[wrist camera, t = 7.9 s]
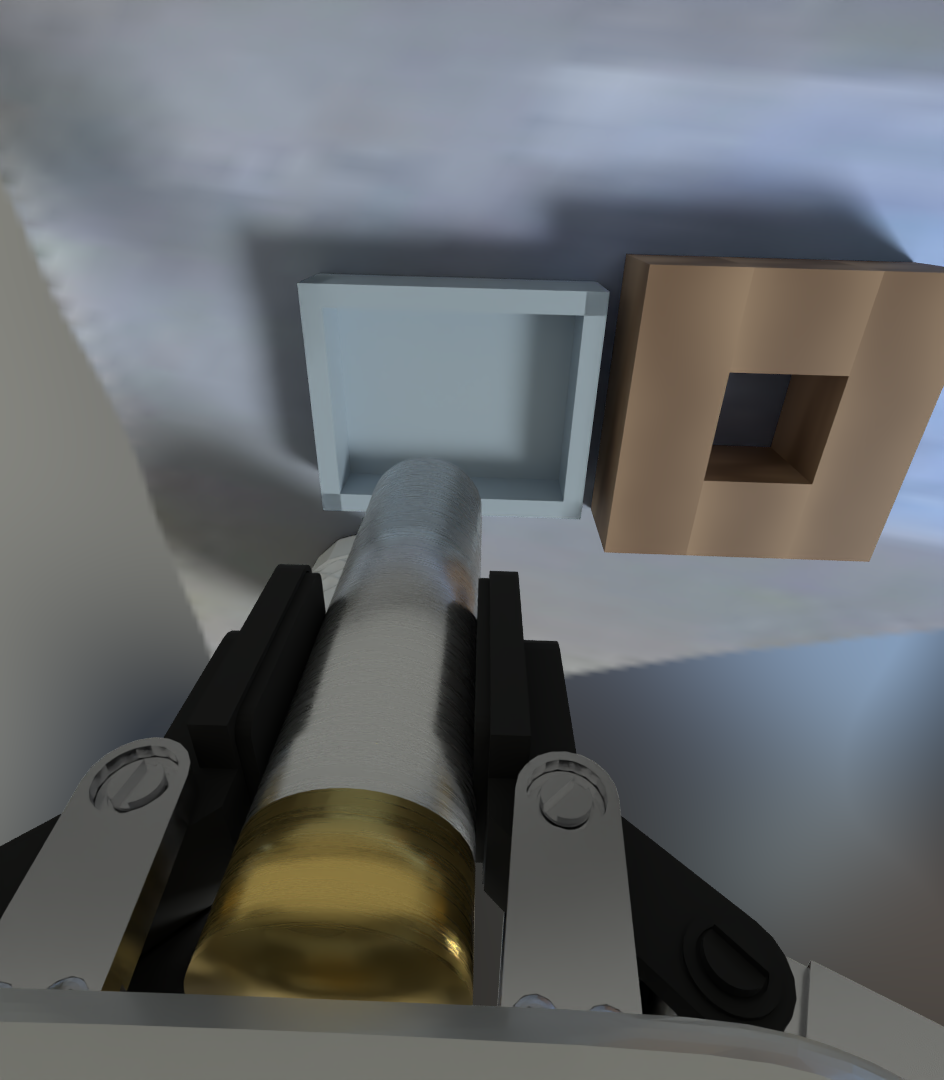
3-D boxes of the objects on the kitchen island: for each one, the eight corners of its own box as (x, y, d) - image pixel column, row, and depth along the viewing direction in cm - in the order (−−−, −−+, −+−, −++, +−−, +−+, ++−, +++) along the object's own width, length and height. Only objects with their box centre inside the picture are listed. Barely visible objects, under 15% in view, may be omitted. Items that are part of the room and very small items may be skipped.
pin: (483, 459, 15) (477, 934, 5) (480, 557, 17) (469, 1071, 7) (368, 455, 15) (152, 921, 5) (374, 554, 17) (213, 1061, 7)
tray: (596, 281, 23) (609, 292, 21) (572, 489, 28) (580, 519, 25) (318, 273, 24) (297, 283, 21) (338, 481, 28) (323, 510, 25)
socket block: (914, 262, 23) (990, 273, 19) (823, 516, 28) (869, 561, 25) (626, 254, 23) (649, 264, 19) (590, 508, 28) (604, 552, 25)
